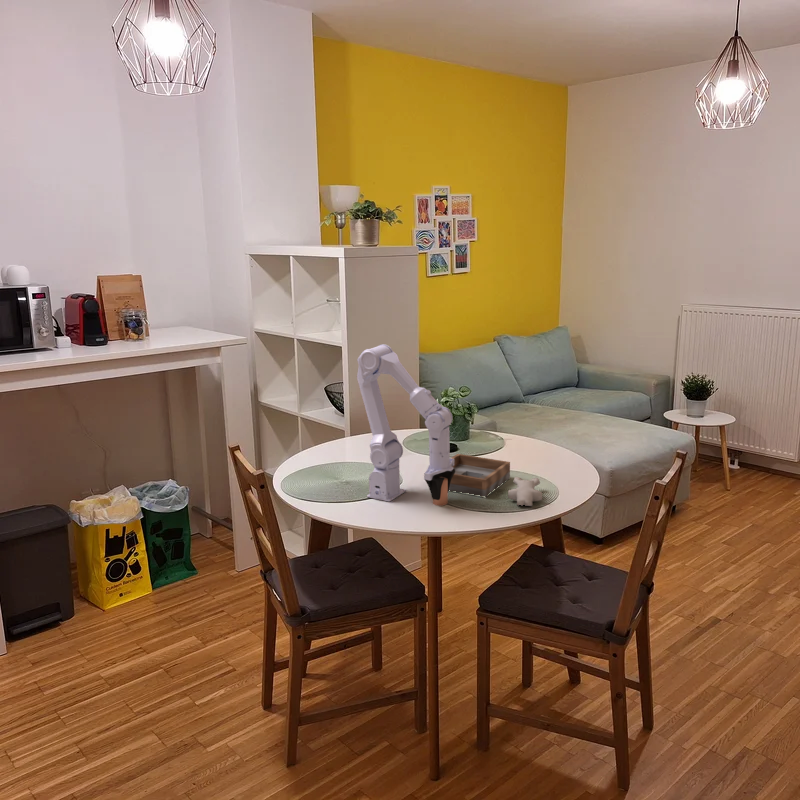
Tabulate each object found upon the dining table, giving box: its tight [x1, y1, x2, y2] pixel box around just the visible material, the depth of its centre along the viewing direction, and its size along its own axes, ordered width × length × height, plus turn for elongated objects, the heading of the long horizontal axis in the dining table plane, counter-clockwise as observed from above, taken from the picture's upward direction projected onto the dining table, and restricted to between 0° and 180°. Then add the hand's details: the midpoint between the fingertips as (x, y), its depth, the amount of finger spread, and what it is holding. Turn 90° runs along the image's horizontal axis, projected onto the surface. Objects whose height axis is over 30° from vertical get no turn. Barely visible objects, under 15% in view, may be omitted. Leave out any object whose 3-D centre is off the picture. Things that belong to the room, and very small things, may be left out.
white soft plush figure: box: [507, 476, 543, 507], centre depth 210 cm, size 10×5×15 cm
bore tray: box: [449, 453, 511, 498], centre depth 223 cm, size 18×18×6 cm
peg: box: [431, 477, 449, 507], centre depth 208 cm, size 4×4×7 cm
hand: (440, 496), depth 208 cm, fingers closed on peg, 4 cm apart
